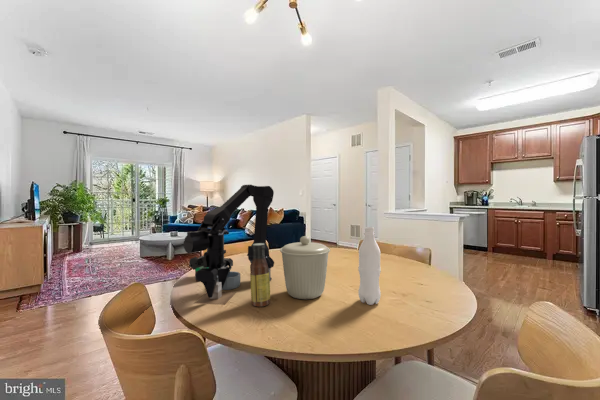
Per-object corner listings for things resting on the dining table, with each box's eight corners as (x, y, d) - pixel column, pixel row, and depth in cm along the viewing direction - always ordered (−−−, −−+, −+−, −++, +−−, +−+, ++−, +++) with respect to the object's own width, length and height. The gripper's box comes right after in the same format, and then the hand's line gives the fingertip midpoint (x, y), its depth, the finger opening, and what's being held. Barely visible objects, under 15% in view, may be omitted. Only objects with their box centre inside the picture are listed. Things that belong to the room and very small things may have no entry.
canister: (328, 306, 88) (328, 241, 87) (274, 302, 91) (274, 239, 90) (331, 287, 106) (331, 233, 105) (286, 284, 109) (285, 232, 108)
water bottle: (368, 308, 86) (368, 229, 86) (354, 300, 92) (354, 227, 92) (385, 303, 89) (385, 228, 89) (370, 296, 96) (370, 225, 95)
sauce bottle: (273, 301, 92) (273, 242, 91) (265, 309, 86) (264, 246, 85) (256, 299, 94) (255, 241, 93) (246, 306, 88) (246, 245, 87)
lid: (236, 293, 100) (236, 278, 100) (224, 306, 89) (224, 289, 89) (208, 292, 102) (207, 278, 101) (193, 304, 91) (192, 288, 91)
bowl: (243, 282, 111) (243, 271, 111) (235, 290, 102) (235, 278, 102) (221, 281, 112) (221, 271, 112) (212, 289, 103) (212, 277, 103)
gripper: (205, 243, 105) (205, 283, 106) (179, 253, 87) (179, 302, 87) (233, 243, 104) (233, 284, 104) (212, 254, 86) (213, 303, 86)
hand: (215, 292), depth 95 cm, fingers open, 9 cm apart
